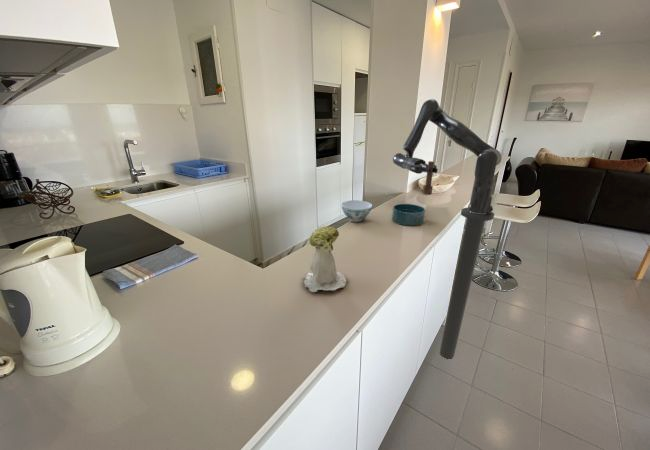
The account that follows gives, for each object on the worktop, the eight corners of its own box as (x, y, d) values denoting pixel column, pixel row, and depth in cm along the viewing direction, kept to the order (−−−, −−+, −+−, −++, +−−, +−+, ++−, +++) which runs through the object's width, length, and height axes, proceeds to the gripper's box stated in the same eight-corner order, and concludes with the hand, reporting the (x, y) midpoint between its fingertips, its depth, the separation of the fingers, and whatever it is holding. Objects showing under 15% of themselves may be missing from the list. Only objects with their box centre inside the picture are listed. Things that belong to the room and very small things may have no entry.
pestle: (431, 192, 141) (435, 161, 136) (431, 195, 137) (436, 162, 132) (422, 192, 142) (426, 160, 137) (422, 194, 138) (426, 162, 133)
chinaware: (337, 215, 144) (337, 201, 141) (363, 213, 147) (364, 199, 144) (346, 226, 130) (347, 210, 127) (376, 223, 134) (377, 207, 131)
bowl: (422, 217, 142) (424, 205, 140) (424, 227, 128) (426, 214, 126) (392, 214, 146) (393, 202, 143) (391, 224, 132) (392, 211, 130)
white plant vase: (351, 291, 81) (354, 234, 74) (308, 297, 78) (307, 238, 72) (339, 271, 92) (341, 219, 85) (301, 275, 89) (300, 222, 82)
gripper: (404, 158, 146) (421, 163, 130) (428, 157, 149) (448, 162, 133) (402, 172, 149) (419, 179, 133) (426, 171, 151) (445, 178, 136)
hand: (433, 170), depth 133 cm, fingers closed on pestle, 2 cm apart
